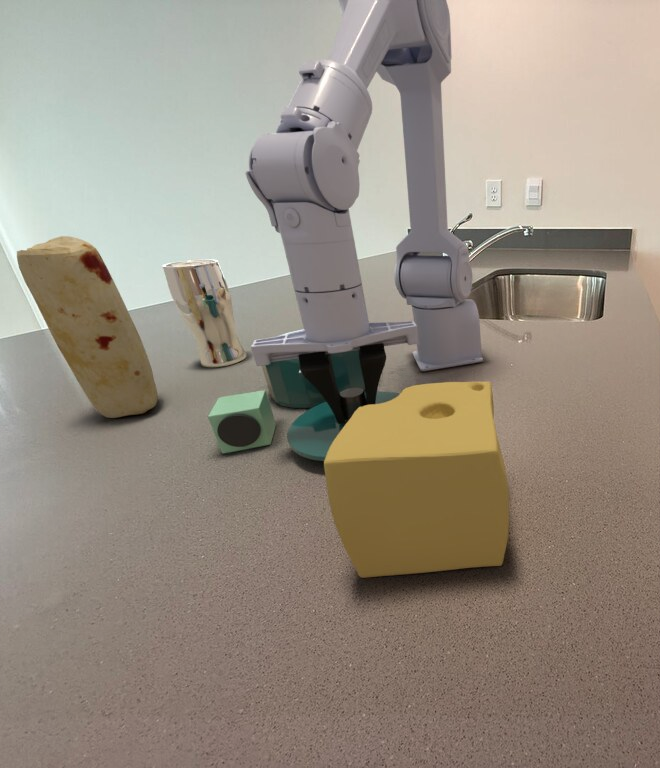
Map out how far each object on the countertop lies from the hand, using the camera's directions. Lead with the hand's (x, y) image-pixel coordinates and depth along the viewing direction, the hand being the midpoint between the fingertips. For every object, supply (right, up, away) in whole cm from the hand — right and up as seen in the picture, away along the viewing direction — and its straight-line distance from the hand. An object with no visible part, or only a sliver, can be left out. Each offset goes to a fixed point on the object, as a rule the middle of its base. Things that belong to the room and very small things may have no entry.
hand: (356, 416), depth 43 cm
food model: (-31, 0, +8) cm, 32 cm away
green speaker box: (-12, -2, +1) cm, 12 cm away
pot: (-9, +3, +12) cm, 16 cm away
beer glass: (-29, +7, +22) cm, 37 cm away
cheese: (+11, -8, -11) cm, 17 cm away
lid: (0, -1, 0) cm, 1 cm away
